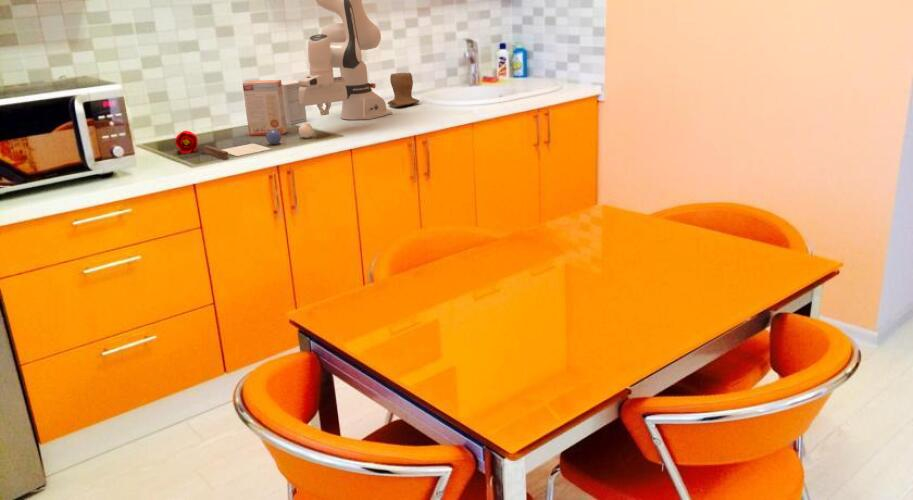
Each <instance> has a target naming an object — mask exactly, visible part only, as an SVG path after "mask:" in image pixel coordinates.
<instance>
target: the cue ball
mask: <svg viewBox="0 0 913 500" xmlns="http://www.w3.org/2000/svg"><path fill="white" fill-rule="evenodd" d="M298 133H299V135H300V136H301V137H302V138H304V139H308V138H311V136H313V134H314V128H313V126H312V125H311V124H310V123H303V124H301V125H300V126H299V128H298Z"/></svg>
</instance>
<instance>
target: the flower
mask: <svg viewBox="0 0 913 500" xmlns="http://www.w3.org/2000/svg"><path fill="white" fill-rule="evenodd" d="M174 143H175V145H176V147H177V149H179V152H180V153H181V154H184V153H185V154H191V152H195V151H197V150H198V137H197V134H195V133H193V132H191V131H189V130H182V131H181V132H180V133H178V134H177V135H176V138H175V142H174Z"/></svg>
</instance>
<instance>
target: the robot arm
mask: <svg viewBox="0 0 913 500" xmlns="http://www.w3.org/2000/svg"><path fill="white" fill-rule="evenodd" d="M315 2H316V3H317V5H319V6H320V7H321V8H323V9H324V10H326V11H329V12H331V13H335V14H337V16H339V17H340V18H341V21H342V23H341V22H336V23H335V22H334V23H331V24H327V25H325V26H324V27H323V28H322V30H321V33H320V34H314V35H311V36H310V37H309V38H308V43H307V57H308V61H309V62H308V63H309V66H310V67H309V74H308V75H305V76H303V77H301V78H300V79H298V81H299V85H301V86H300V87H299V90H298V98H299V103H300V105H302V106H305V107H308V106H313V105H315V106H316V107H317V108H318V111H319V113H320V116H327V115H330V109H331V106H332V103H336V102H342V104H341V114H340V118H341V119H343V120H355V121H356V120H372V119H377V118H380V117H385V116H387V115H392V113H393V112H392V110H390V109H387V105H386V104H387V103H386V101H385V99H384V98H383V97H381V96H380V95H378V94H377V93H375V91H373V89H376V87H377V84H376V83H370V82H368V70H367V68H368V67H367V65H366V63H365V62H364V61H363V60H362V59H363V58H362V57H363V56H362V55H363V54H362V51H368V50H373V49H376V48H378V47H379V45H380V43H381V39H382V36H381V35H382V34H381V31H380V28H379V27H378V26H377V24H375V23H373V22H372V20H370V18H369V17H368V16H367V14H366V12H365V9H364V6H363V0H315ZM334 68H337V69H338V68H339V72H340V76H338V77H337V76H335V77H334ZM324 105H325V108H323V107H324Z"/></svg>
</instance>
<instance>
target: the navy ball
mask: <svg viewBox="0 0 913 500" xmlns="http://www.w3.org/2000/svg"><path fill="white" fill-rule="evenodd" d="M265 138H266V141H267V143H269V144H271V145H277V144H279V143H280V142H281V140H282V135H281V134H280V132H279V131H277V130H270V131H268V133H267V135H265Z"/></svg>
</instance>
